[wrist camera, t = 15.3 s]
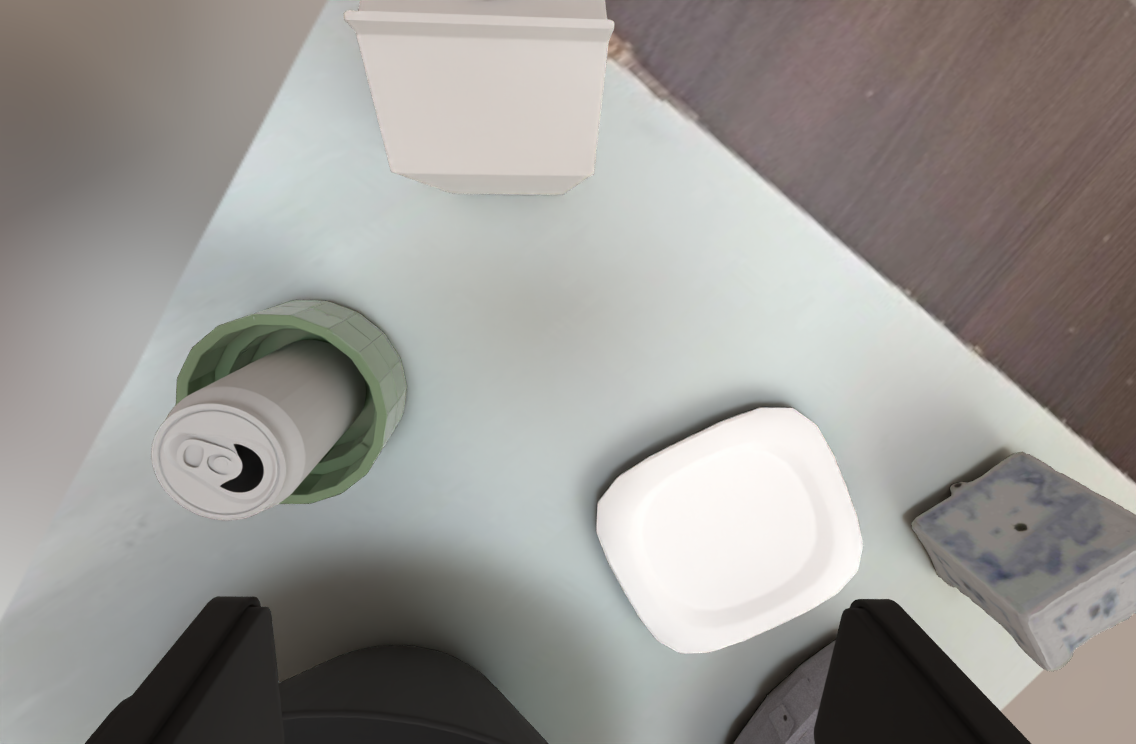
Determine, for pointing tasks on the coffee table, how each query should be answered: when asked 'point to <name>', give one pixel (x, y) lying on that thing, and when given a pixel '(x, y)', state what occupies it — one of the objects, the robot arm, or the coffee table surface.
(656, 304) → the coffee table surface
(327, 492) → the green round dish
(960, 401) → the coffee table surface
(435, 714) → the bowl
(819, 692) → the grey rounded bag
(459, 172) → the milk carton
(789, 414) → the plate
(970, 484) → the incense holder
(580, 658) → the coffee table surface
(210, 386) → the beverage can
